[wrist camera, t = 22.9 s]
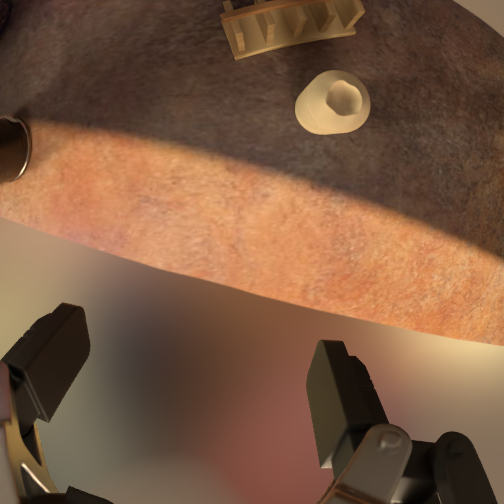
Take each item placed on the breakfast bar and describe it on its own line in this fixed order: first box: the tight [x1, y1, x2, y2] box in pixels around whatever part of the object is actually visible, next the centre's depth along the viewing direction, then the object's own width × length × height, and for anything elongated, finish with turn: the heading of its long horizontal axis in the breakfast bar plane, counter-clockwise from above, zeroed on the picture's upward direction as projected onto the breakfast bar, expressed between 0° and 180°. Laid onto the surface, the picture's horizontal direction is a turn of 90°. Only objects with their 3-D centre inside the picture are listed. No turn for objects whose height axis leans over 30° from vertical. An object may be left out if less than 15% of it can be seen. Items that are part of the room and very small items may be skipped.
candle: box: [295, 70, 370, 134], centre depth 25 cm, size 6×6×10 cm
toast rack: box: [220, 0, 365, 60], centre depth 23 cm, size 14×5×8 cm, turn 108°
